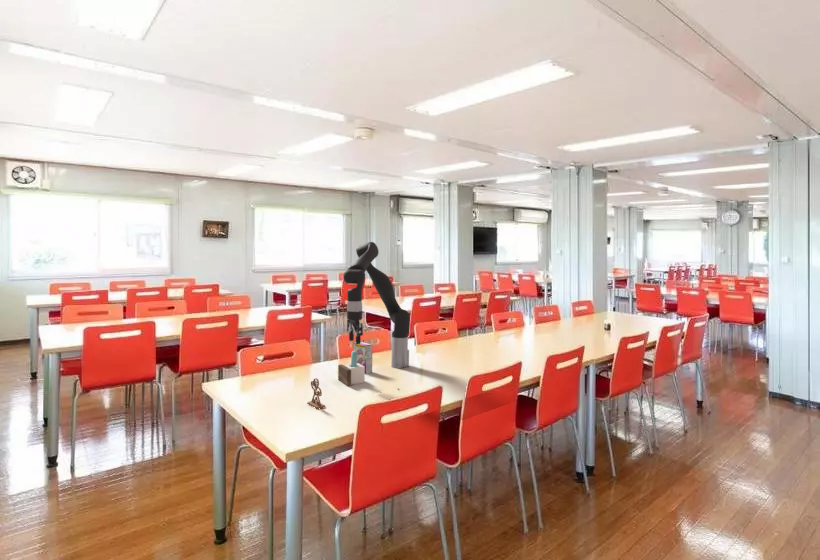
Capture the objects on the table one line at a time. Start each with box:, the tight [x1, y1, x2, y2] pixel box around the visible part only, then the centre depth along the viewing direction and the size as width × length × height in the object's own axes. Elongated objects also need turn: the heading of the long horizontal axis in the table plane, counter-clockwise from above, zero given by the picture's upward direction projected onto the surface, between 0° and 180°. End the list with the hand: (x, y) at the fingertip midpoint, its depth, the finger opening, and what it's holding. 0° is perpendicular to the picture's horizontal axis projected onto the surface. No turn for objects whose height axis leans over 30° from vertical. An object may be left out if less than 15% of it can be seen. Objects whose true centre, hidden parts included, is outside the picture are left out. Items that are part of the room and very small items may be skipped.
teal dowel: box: [350, 350, 357, 367], centre depth 236 cm, size 3×3×12 cm
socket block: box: [343, 363, 366, 385], centre depth 237 cm, size 8×8×8 cm
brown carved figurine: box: [306, 378, 326, 410], centre depth 203 cm, size 9×4×12 cm, turn 42°
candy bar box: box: [352, 341, 373, 374], centre depth 257 cm, size 11×5×16 cm, turn 47°
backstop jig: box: [337, 363, 352, 387], centre depth 240 cm, size 26×12×9 cm, turn 119°
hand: (354, 342), depth 235 cm, fingers open, 8 cm apart
